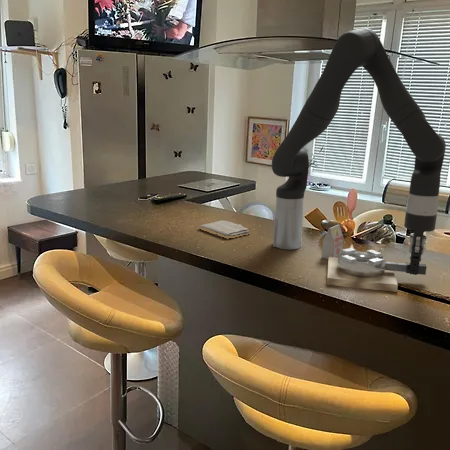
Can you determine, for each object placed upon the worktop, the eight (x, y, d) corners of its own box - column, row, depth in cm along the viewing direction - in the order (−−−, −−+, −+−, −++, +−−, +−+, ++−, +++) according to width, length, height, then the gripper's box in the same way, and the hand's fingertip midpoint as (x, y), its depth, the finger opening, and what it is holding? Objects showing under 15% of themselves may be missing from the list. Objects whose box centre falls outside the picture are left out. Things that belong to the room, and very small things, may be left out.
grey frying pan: (336, 274, 125) (338, 259, 124) (337, 259, 137) (338, 245, 136) (429, 283, 120) (431, 268, 118) (420, 266, 132) (422, 252, 131)
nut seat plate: (326, 284, 124) (327, 276, 123) (328, 263, 141) (328, 255, 140) (396, 291, 120) (397, 283, 119) (389, 268, 137) (390, 261, 136)
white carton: (321, 257, 146) (323, 227, 143) (331, 252, 151) (333, 223, 148) (332, 260, 143) (334, 229, 141) (342, 255, 148) (344, 225, 146)
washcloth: (228, 241, 163) (228, 233, 162) (197, 230, 175) (197, 223, 175) (252, 235, 170) (252, 227, 169) (220, 225, 183) (220, 218, 182)
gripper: (438, 218, 112) (428, 284, 116) (436, 207, 124) (428, 268, 128) (405, 214, 115) (397, 279, 119) (406, 205, 126) (399, 264, 131)
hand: (413, 273), depth 124 cm, fingers closed
